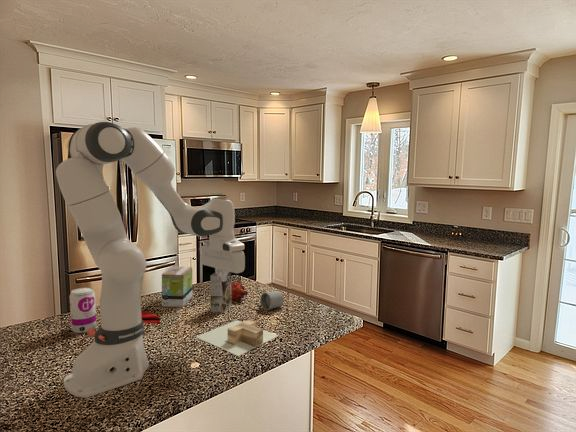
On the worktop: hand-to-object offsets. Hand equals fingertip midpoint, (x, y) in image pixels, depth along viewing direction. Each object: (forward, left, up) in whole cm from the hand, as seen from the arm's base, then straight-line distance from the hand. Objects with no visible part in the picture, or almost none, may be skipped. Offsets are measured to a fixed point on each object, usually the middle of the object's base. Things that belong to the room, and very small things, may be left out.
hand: (221, 280), depth 135 cm
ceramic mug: (+32, +5, -20) cm, 38 cm away
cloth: (-10, +38, -21) cm, 45 cm away
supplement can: (-31, +42, -20) cm, 56 cm away
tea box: (+10, +42, -20) cm, 48 cm away
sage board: (+1, -7, -20) cm, 21 cm away
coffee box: (+16, +19, -20) cm, 32 cm away
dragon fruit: (+30, +24, -20) cm, 44 cm away
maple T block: (+2, -12, -19) cm, 23 cm away
